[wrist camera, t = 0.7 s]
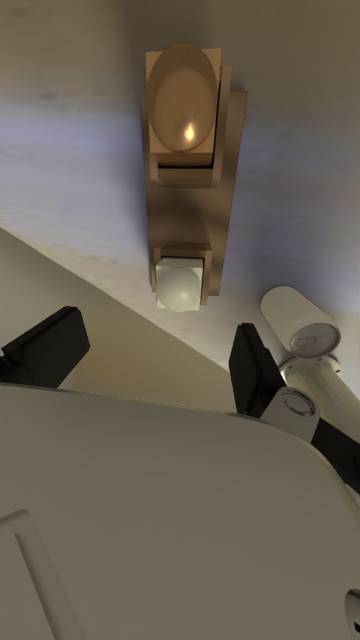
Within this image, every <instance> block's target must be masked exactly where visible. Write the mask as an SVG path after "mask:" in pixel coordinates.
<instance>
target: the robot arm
mask: <svg viewBox="0 0 360 640" xmlns="http://www.w3.org/2000/svg"><path fill="white" fill-rule="evenodd" d="M89 348H90V344H89V340H88V337H87V333H86V329H85V325H84V322H83V318H82V314H81V312H80V310H78V308H77V307H70V306H65V307H63V308H62V309H60V310H59V311H57V312H56V313H54V314H53V315H51V316H50V317H48V318H46V319H45V320H43V321H42V322H40V323H39V324H37V325H36V326H34V327H33V328H32V329H30V330H28V331H27V332H25V333H24V334H22V335H21V336H19V337H18V338H16V339H15V340H13V341H11V342H10V343H8V344H7V345H5V346H4V347H3V348H1V350H2V351H3V353H4V354H5V355H4V356H2V357H1V356H0V640H360V401H359V399H358V398H357V397H356V396H355V395H354V394H353V392H352V391H351V390H350V389H349V388H348V387H347V385H346V384H345V383H344V382H343V381H342V380H341V375H342V368H341V366H340V364H339V363H338V362H337V361H336V360H335V359H334V358H332V357H330V356H328V355H326V356H323V357H321V358H317V359H310V360H307V359H301V358H298V357H295V358H293V359H291V360H289V361H287V362H286V363H285V364H284V365H283V366H282V367H281V368H280V369H278V367H277V365H276V363H275V361H274V359H273V357H272V355H271V353H270V351H269V349H268V348H265V347H264V345H263V343H262V340H261V338H260V336H259V334H258V332H257V330H256V328H255V326H254V324H252V323H242V324H241V325H238V327H237V331H236V335H235V339H234V343H233V347H232V351H231V355H230V359H229V370H230V375H231V381H232V386H233V392H234V397H235V402H236V408H237V413H233V412H228V411H221V410H215V409H209V408H202V407H195V406H188V405H181V404H173V403H165V402H158V401H150V400H143V399H135V398H127V397H119V396H112V395H104V394H96V393H87V392H80V391H72V390H64V389H57V387H58V386H59V385H60V384H61V383H62V381H63V380H64V379H65V378H66V377H67V376H68V374H69V373H70V372H71V371H72V369H73V368H74V367H75V366H76V365H77V364H78V363H79V361H80V360H81V359H82V358H83V357H84V355H85V354H86V353H87V352H88V351H89Z"/></svg>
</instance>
